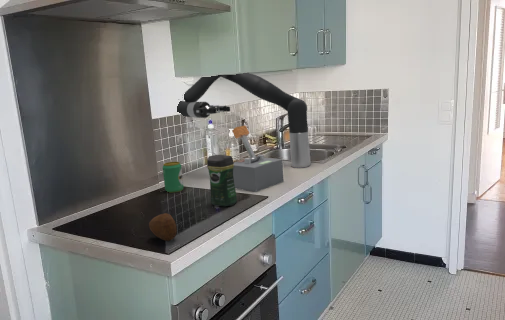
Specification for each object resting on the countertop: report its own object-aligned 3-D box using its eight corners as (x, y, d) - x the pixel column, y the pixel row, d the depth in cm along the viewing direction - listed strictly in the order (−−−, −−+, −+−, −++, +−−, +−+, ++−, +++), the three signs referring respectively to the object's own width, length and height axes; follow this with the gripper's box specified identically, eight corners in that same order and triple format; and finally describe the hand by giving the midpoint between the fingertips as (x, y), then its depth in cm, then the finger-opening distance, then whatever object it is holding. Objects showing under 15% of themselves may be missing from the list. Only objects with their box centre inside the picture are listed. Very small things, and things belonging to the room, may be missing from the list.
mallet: (257, 161, 184) (241, 128, 186) (262, 158, 182) (245, 125, 184) (248, 164, 179) (232, 130, 182) (252, 161, 177) (236, 127, 180)
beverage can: (181, 192, 179) (178, 164, 176) (163, 193, 179) (159, 165, 177) (185, 187, 187) (182, 160, 184) (168, 188, 187) (165, 161, 185)
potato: (166, 246, 121) (163, 220, 120) (145, 239, 127) (142, 214, 126) (185, 237, 127) (183, 212, 125) (165, 231, 133) (162, 207, 131)
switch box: (256, 177, 195) (254, 151, 192) (283, 181, 184) (281, 154, 181) (228, 187, 182) (226, 159, 179) (256, 191, 171) (253, 162, 169)
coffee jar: (240, 202, 158) (236, 153, 154) (226, 208, 152) (222, 158, 148) (221, 199, 164) (217, 152, 160) (207, 205, 158) (202, 156, 154)
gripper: (186, 103, 193) (210, 102, 182) (209, 100, 203) (233, 100, 192) (187, 119, 194) (211, 120, 183) (210, 116, 204) (234, 116, 194)
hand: (222, 109), depth 188 cm, fingers open, 8 cm apart
